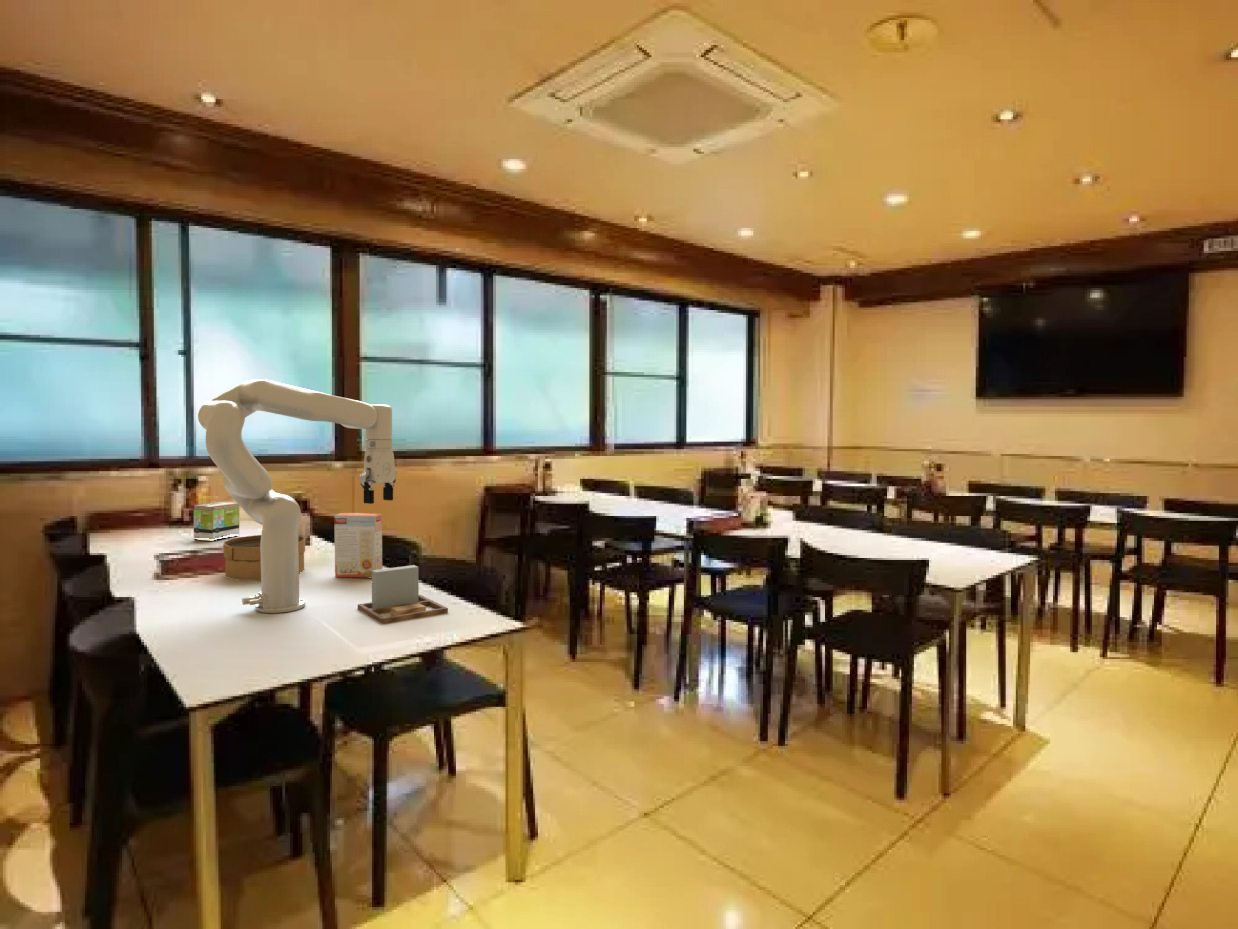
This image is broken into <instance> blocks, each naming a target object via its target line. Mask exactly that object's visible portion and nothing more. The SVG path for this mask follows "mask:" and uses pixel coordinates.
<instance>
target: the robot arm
mask: <svg viewBox="0 0 1238 929" xmlns="http://www.w3.org/2000/svg"><path fill="white" fill-rule="evenodd" d="M259 411H261V412H264V413H265V412H266V413H270V414H274V415H275V414H276V415H281V416H285V417H290V418H294V419H299V420H304V421H308V422H309V421H311V422H327V423H334V424H340V425H341V426H343V427H344V428H347V429H358V430H359V429H361V430H365V452H364V453H365V454H364V460H363V472H362V473H361V474H360V475H359V476H358V479H359V481H360V486H361V488H362V491H363V503H364V504H368V505H369V504H370V505H373V504H374V503H375V490H374V487H375V485H376V484H383V485H384V486H383V488H382V493H383V494H382V497H383V498H382V499H383V500H384V501H393V500H394V488H395V483H396V479H397V476H398V472H397V471H396V467H395V466H396V465H395V464H396V462H395V456H394V455H395V454H394V450H393V407H391V405H388V404H369V403H367V402H363V401H360V400H356V399H352V398H347V397H342V396H337V395H333V394H328V393H325V392H320V391H316V390H311V389H307V388H303V387H299V386H295V385H291V384H285V383H284V382H283V383H282V382H278V381H274V380H269V379H261V378H260V379H250V380H245V381H244V382H242V383H241V384H238V385H236V386H234V387H233V388H231V389H230V390H226V392H224V393H222V394H220V395H217V396H215V397H214V398H212V399H210V400H208V401H206V402H205V403H204V404H203V405H202V406H200V408H199V410H198V413H197V420H198V423H199V424H200V426H201V427H202V428H203V429H204V430H205V448H206V450H207V453H208V456H209V457H210V459H211V460H212V462H213V463H214V464H215V466H217V468H218V469H219V470H220V472H221V473H222V474H223V476H222V482H223V486H224V489H225V491H226V492H227V493H228V494H229V496H231V498H232V499H233V500H234V501H235V503H238V504H239V508H241V509H242V510H243V511H244V512H245V513H246V514H247V516H249V518H251V519H252V520H253V521H254V522H255V523H258V524H260V525H261V526H262V530H261V534H260V535H261V544H260V552H261V580H260V586H261V587H260V588H261V589H260V591H258V592H257V594H254V596H247V597H242V599H241V602H242V605H243V606H245V605H250V606H254V605H255V607H254V608H255V609H254V610H255V611H256V612H258V613H263V614H278V613H287V612H294V611H297V610H301V609H302V608H304V607H306V600H305V599H303V598H300V573H299V551H298V536H300V535H299V533H300V532H299V531H300V527H301V525H300V524H301V518H302V517H301V516H302V515H301V514H302V513H301V508H300V505H299V503H298V502H297V501H296V500H295V498H293V497H291V496H289V495H287V494H283V493H279V492H276V491H275V490H274V489H273V479H272V477H271V474H270V473H269V472H268V471H267V469H266V468H265V466H263V465H262V464H261V463H260V462H259V460H257V459H256V457H255V456H254V455H253V454H252V452H250V450H249V448H248V447H247V446H246V445H245V443H244V441H243V437H242V432H243V427H244V425H245V421H246V418H248V417H249V416H250V415H252V414H254V413H255V412H259Z"/></svg>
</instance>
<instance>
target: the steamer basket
mask: <svg viewBox="0 0 1238 929" xmlns="http://www.w3.org/2000/svg"><path fill="white" fill-rule="evenodd" d="M260 544H261V534H258V535H248V536H241V537H240V536H238V537H233V538H229V539H228V540H225V541H224V542H223V557H224V559H225V570H224V574H225V575H224V576H225V577H226V578H228V577H229V578H228V579H231V578H232V580H237V579H238V580H240V581H261V552H260ZM298 551H299V574H301V573H300V572H302V571H303V570H304V571H305V552H306V538H305V536H301V535H298ZM304 571H303V572H304ZM303 572H302V573H303Z"/></svg>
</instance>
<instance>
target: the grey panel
mask: <svg viewBox="0 0 1238 929" xmlns="http://www.w3.org/2000/svg"><path fill="white" fill-rule="evenodd" d="M419 583H420V582H419V566H417V565H415V564H412V565H411V564H410V565H405V566H397V567H390V568H389V567H388V568H387V567H386V568H382V569H379V570H372V578H371V602H372V608H371V609H377V608H383V607H389V606H396V605H402V604H408V603H415V602H420V601H419V595H420V592H419V588H420V587H419V586H420V585H419Z"/></svg>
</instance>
